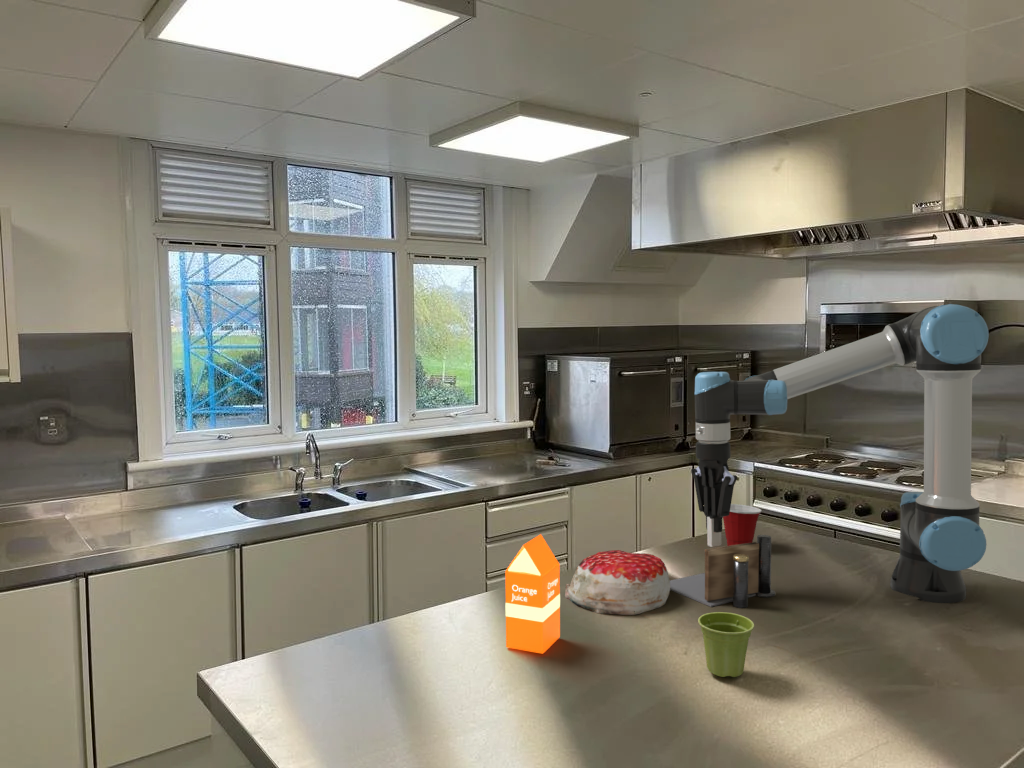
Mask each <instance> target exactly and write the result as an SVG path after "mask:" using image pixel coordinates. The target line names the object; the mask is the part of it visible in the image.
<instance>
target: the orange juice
mask: <svg viewBox="0 0 1024 768" xmlns="http://www.w3.org/2000/svg"><path fill="white" fill-rule="evenodd" d="M560 568H561V565H560V562H559V561H558V560H557V558H556V557H555V554H554V553H553V552H552V549H551V548H550V546H549V545H548V543H547V541H546V540H545V538H544V536H543V535H542V533H540V534H539V535H537V536H535V537H534V538H532V539H530V540H529V541H527V542H526V543H524V544H522V546H521V548H520V549H519V551H518V552H517V554H516V555H515V556H514V558H513V559H512V560H511V562H510V563H509V566H507V568H506V570H505V571H504V575H505V584H504V585H505V607H504V608H505V609H504V610H505V648H508V649H513V650H514V649H515V650H520V651H526V652H531V653H537V654H544V653H546V652H547V650H548V649H550V648H551V646H553V644H555V642H557V640H559V639H560V637H561V587H560V585H561V583H560V582H561V580H560V576H561V575H560V572H561V569H560Z"/></svg>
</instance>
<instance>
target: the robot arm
mask: <svg viewBox="0 0 1024 768" xmlns="http://www.w3.org/2000/svg"><path fill="white" fill-rule="evenodd" d="M989 336H990V335H989V328H988V325H987V322H986V321H985V319H984V317H983V316H982V315H980V313H979V312H977V311H976V310H974V309H973V308H971V307H968V306H965V305H960V304H956V303H955V304H953V303H948V304H941V305H934V306H929V307H926V308H923V309H921V310H919V311H917V312H916V313H913V314H911V315H909V316H908V317H907V316H906V317H905V318H903V319H900V320H898V321H896V322H893V323H890V324H887V325H885V327H884V328H883V330H882V331H881V332H878V333H875V334H873V335H872V334H871V335H869V336H867V337H864V338H860V339H858V340H856V341H855V340H854V341H853V342H850V343H846V344H844V345H841V346H837V347H835V348H832V349H829V350H827V351H823V352H820V353H818V354H814V355H812V356H810V357H806V358H803V359H800V360H798V361H794V362H792V363H790V364H786V365H784V366H781V367H778V368H775V369H773V370H771V371H770V370H769V371H767V372H764V373H761V374H758V375H752V376H749V377H747V378H745V380H732V379H731V378H730V374H729V372H727V371H702V372H701V371H700V372H699V373H697V374H696V375H695V378H694V413H695V414H694V415H695V416H694V417H695V420H694V421H695V439H696V440H697V441H696V443H695V458H696V459H698V460H699V461H698V466H697V467H696V468H692V469H691V470H690V472H691V475H692V478H693V481H694V487H695V493H696V499H697V504H698V510H699V512H702V513H703V514H704V516H705V528H706V531H707V532H706V535H707V537H706V538H707V542H706V543H707V547H710V548H715V547H721V546H722V532H723V517H724V516H729V513H730V507H731V504H732V502H733V501H732V500H733V495H734V494H733V493H734V488H735V485H736V482H737V480H738V476H737V475H736V474H732V473H731V472H730V471H729V470H730V469H729V468H730V467H729V464H728V460H729V459H730V458H731V443H730V440H731V416H732V415H734V416H735V415H761V416H763V415H766V416H773V415H784V414H786V412H787V410H788V400H789V399H791V398H792V399H793V398H795V397H798V396H802V395H803V394H807V393H810V392H813V391H816V390H819V389H821V388H825V387H828V386H832V385H835V384H838V383H839V382H843V381H846V380H850V379H852V378H854V377H858V376H861V375H865V374H867V373H870V372H872V371H876V370H879V369H882V368H885V367H889V366H892V365H894V364H897V365H899V366H905V365H908V364H911V363H915V365H916V366H915V367H916V368H915V369H916V370H915V371H916V372H917V373H918V374H919V375H920V376H921V377H922V378H923V381H924V383H923V386H924V387H923V388H924V390H923V391H924V393H923V394H924V395H923V399H924V400H923V401H924V403H923V405H924V406H923V415H924V416H923V491H907V492H904V493H902V495H901V497H900V503H899V507H900V525H899V527H900V529H899V530H900V533H899V556H898V560H897V562H896V564H895V567H894V568H893V572H892V575H891V577H890V589H891V590H892V591H895V592H898V593H901V594H904V595H907V596H911V597H914V598H917V600H918V601H922V602H928V603H936V604H953V603H960V602H963V601H965V600H966V599H967V587H966V584H965V581H964V577H963V575H962V572H961V571H965V570H967V569H968V570H969V569H970V568H972V567H973V566H976V564H978V563H979V562H980V561H981V560H982V559H983V557H984V555H985V553H986V550H987V539H986V535H985V533H984V530H983V528H982V527H981V525H980V509H981V508H980V506H981V505H980V504H981V503H979V501H978V500H976V498H974V496H973V495H972V433H973V432H972V430H973V429H972V427H973V424H972V422H973V421H972V419H973V417H972V416H973V415H972V414H973V412H972V411H973V399H972V398H973V379H974V377H976V376H978V374H979V373H980V372H981V371H982V353H983V352H984V351H985V349H986V347H987V345H988V342H989Z"/></svg>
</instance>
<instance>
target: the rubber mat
mask: <svg viewBox="0 0 1024 768" xmlns="http://www.w3.org/2000/svg"><path fill="white" fill-rule="evenodd" d="M669 581H670V591H672V592H674V593H677V594H679V595H682V596H683V597H686V598H689V599H691V600H693V601H696V602H698V603H700V604H703V605H706V606H708V607H710V608H712V607H716V606H720V605H724V604H728V603H732V602H733V597H728V598H722V599H717V600H711V601H707V600H705V572H702V573H698V574H694V575H689V576H684V577H679V578H675V579H671V580H670V579H669ZM755 596H756V594H755V593H751V594H748V598H752V597H755ZM756 597H757V596H756Z"/></svg>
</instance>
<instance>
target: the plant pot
mask: <svg viewBox="0 0 1024 768" xmlns="http://www.w3.org/2000/svg"><path fill="white" fill-rule="evenodd" d="M697 621H698V622H697V623H698V625H699V626H700V631H701V633H702V637H703V645H704V646H703V647H704V653H705V662H706V668H707V670H708V671H709V672H710V673H711V674H712V675H715V676H718V677H722V678H726V677H732V678H737V677H739V676H741V675H743V673H744V670H745V663H746V657H747V651H748V645H749V638H750V637H751V634H752V631H753V630H754V628H755V624H754V621H752V620H751V619H750V618H749V617H746V616H744V615H741V614H738V613H733V612H725V611H724V612H723V611H722V612H721V611H714V612H713V611H712V612H707V613H704V614H702V615H700V616H699V617H698V619H697Z"/></svg>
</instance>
